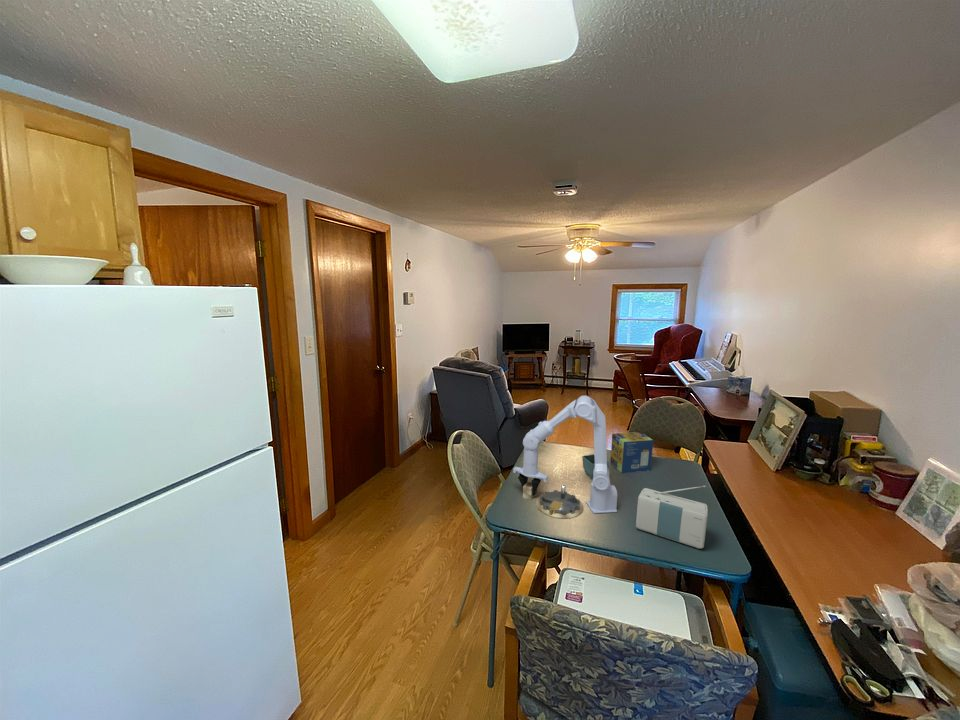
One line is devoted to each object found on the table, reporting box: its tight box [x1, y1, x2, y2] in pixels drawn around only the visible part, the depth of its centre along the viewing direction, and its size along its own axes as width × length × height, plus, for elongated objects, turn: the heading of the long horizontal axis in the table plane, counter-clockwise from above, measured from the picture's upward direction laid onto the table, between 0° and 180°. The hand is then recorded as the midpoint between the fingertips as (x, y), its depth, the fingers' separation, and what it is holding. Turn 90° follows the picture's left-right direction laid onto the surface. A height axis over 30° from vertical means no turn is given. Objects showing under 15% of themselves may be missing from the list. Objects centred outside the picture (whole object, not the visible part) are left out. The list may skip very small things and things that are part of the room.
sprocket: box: [539, 484, 581, 515], centre depth 152 cm, size 15×15×6 cm
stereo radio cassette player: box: [635, 485, 709, 549], centre depth 133 cm, size 21×8×20 cm, turn 56°
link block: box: [522, 481, 537, 501], centre depth 159 cm, size 4×5×5 cm
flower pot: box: [581, 453, 610, 481], centre depth 175 cm, size 9×9×9 cm
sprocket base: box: [535, 493, 584, 520], centre depth 152 cm, size 18×18×3 cm
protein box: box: [609, 431, 654, 474], centre depth 184 cm, size 10×15×16 cm
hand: (529, 493), depth 159 cm, fingers closed on link block, 3 cm apart
